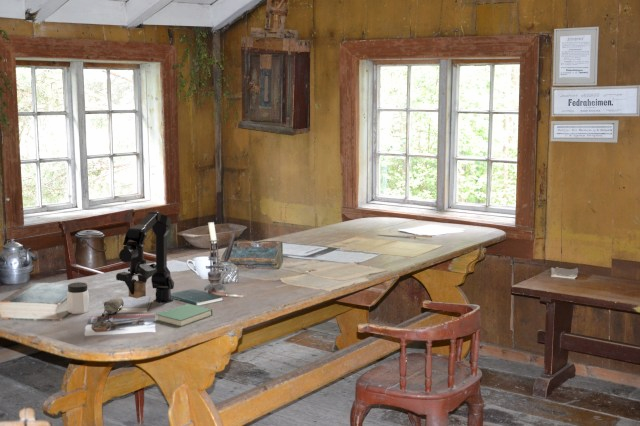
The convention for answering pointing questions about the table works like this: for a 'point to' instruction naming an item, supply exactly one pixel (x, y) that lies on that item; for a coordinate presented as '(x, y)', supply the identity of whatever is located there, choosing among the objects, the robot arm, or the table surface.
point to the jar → (77, 298)
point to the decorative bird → (112, 305)
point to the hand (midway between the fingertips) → (137, 293)
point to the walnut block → (138, 289)
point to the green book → (184, 314)
